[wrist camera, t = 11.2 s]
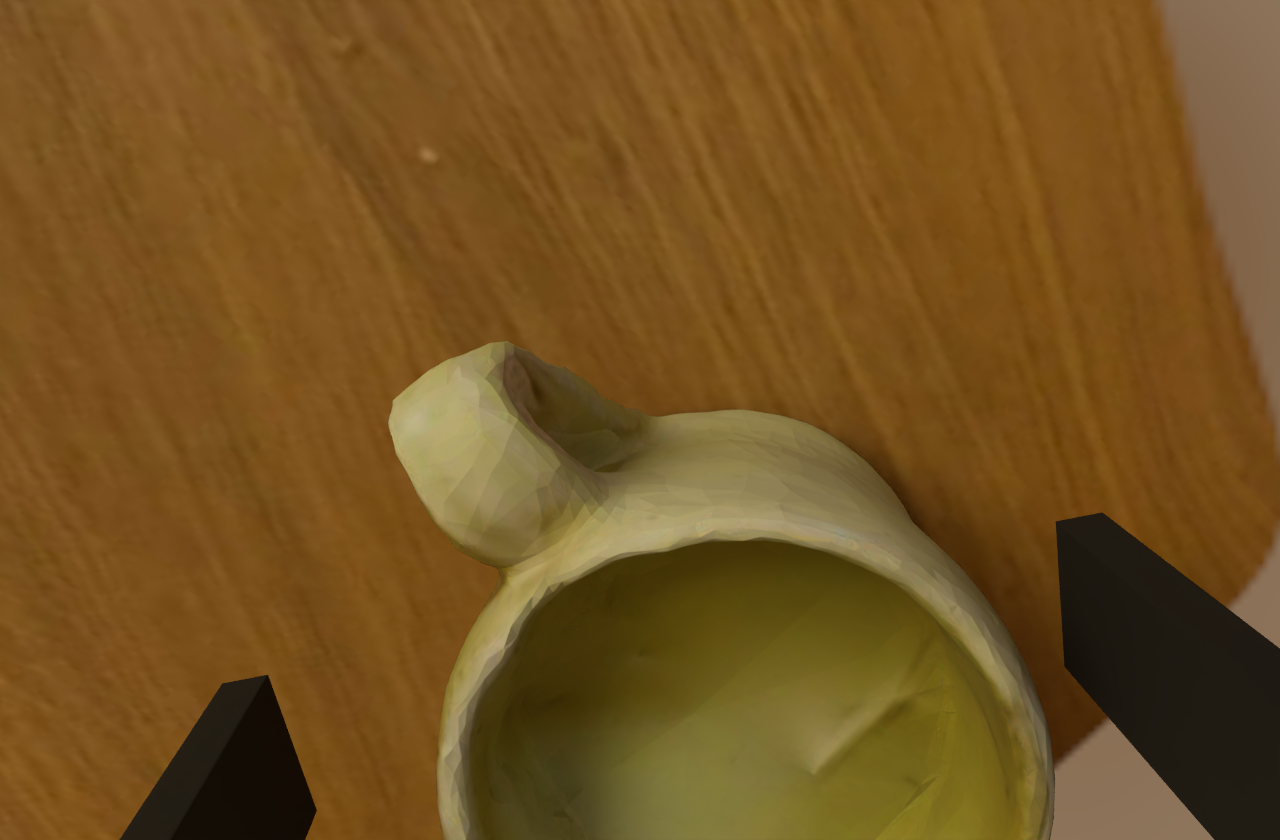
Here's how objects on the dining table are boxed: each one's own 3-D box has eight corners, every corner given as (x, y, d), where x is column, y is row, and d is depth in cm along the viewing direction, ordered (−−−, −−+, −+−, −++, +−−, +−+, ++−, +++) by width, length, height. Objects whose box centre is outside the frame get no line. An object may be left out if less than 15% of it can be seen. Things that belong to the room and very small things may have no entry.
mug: (1093, 706, 21) (1181, 1141, 11) (681, 789, 25) (505, 1158, 16) (881, 178, 19) (791, 193, 10) (484, 357, 23) (167, 483, 14)
